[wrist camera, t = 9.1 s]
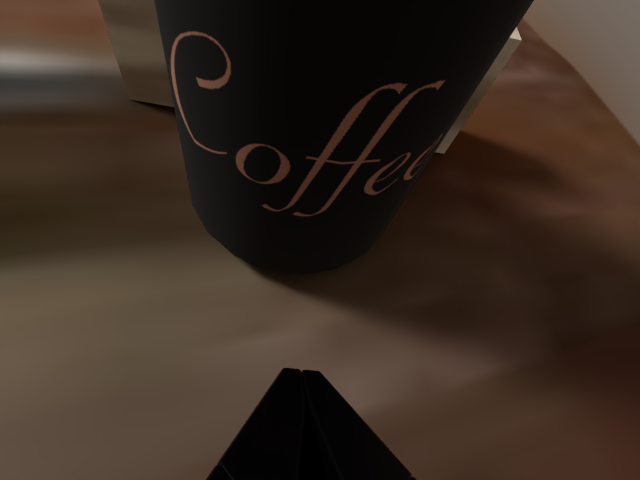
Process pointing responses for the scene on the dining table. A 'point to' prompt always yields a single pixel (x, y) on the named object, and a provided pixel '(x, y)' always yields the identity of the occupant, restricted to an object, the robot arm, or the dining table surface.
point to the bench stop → (151, 71)
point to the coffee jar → (318, 112)
